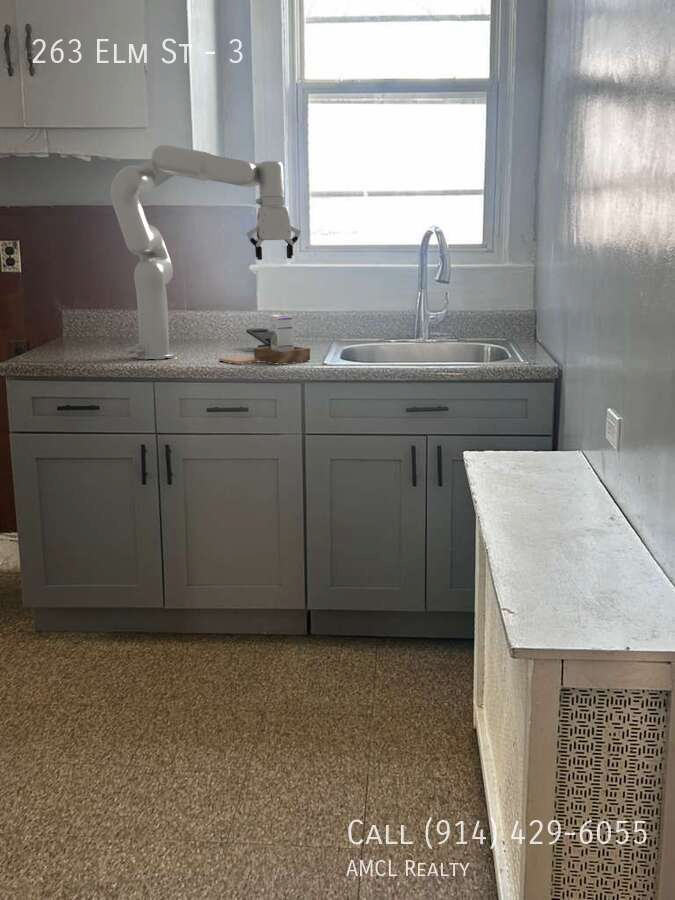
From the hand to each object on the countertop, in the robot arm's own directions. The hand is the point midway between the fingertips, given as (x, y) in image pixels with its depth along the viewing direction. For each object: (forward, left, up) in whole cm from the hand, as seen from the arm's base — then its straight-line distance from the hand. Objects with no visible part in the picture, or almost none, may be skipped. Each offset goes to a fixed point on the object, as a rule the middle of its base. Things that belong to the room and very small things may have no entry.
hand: (274, 259), depth 328 cm
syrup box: (-1, -5, -32) cm, 32 cm away
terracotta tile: (-11, +3, -32) cm, 34 cm away
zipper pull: (+10, +16, -32) cm, 37 cm away
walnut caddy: (-1, -5, -32) cm, 32 cm away
